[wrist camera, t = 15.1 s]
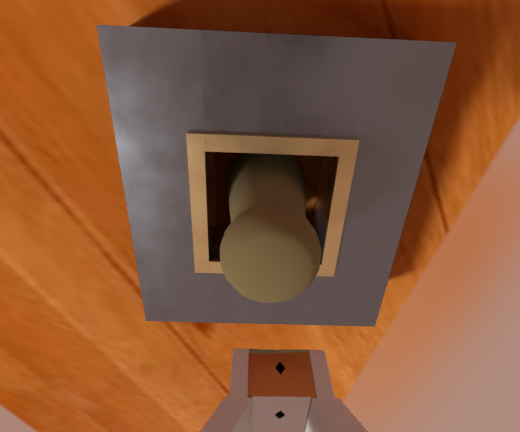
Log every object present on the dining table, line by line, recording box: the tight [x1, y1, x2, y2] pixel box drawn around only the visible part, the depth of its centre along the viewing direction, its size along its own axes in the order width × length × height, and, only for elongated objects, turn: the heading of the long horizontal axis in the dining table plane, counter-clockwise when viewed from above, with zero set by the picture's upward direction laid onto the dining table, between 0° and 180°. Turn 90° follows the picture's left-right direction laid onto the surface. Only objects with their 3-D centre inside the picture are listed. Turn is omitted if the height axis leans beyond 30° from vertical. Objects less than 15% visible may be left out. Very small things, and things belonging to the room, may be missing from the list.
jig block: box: [97, 25, 457, 326], centre depth 23 cm, size 20×18×5 cm
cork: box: [220, 153, 322, 303], centre depth 20 cm, size 6×6×11 cm
